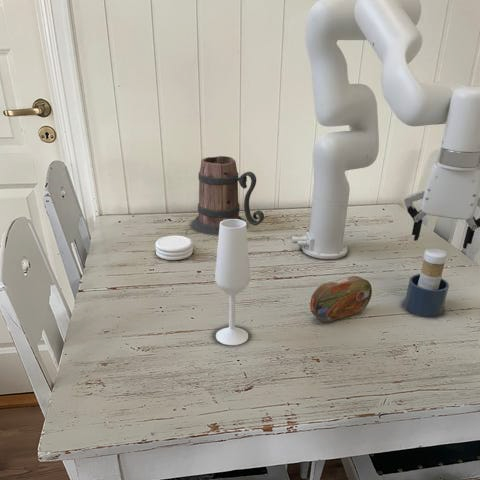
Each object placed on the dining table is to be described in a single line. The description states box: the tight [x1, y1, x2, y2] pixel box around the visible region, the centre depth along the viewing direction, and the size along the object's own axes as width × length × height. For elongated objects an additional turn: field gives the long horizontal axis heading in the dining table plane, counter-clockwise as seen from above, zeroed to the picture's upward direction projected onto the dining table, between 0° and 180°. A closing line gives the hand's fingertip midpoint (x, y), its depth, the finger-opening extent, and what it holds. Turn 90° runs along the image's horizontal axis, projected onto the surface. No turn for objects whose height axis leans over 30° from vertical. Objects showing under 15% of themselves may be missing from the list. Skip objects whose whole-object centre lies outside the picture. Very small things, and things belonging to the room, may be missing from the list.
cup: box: [403, 273, 450, 318], centre depth 109 cm, size 8×8×6 cm
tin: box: [309, 275, 373, 323], centre depth 105 cm, size 15×3×8 cm, turn 117°
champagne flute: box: [214, 219, 251, 346], centre depth 93 cm, size 7×7×24 cm
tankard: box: [191, 155, 265, 236], centre depth 147 cm, size 24×17×20 cm
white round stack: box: [154, 235, 194, 261], centre depth 133 cm, size 10×10×4 cm
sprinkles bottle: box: [418, 247, 448, 290], centre depth 107 cm, size 5×5×13 cm
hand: (440, 242), depth 102 cm, fingers open, 9 cm apart
